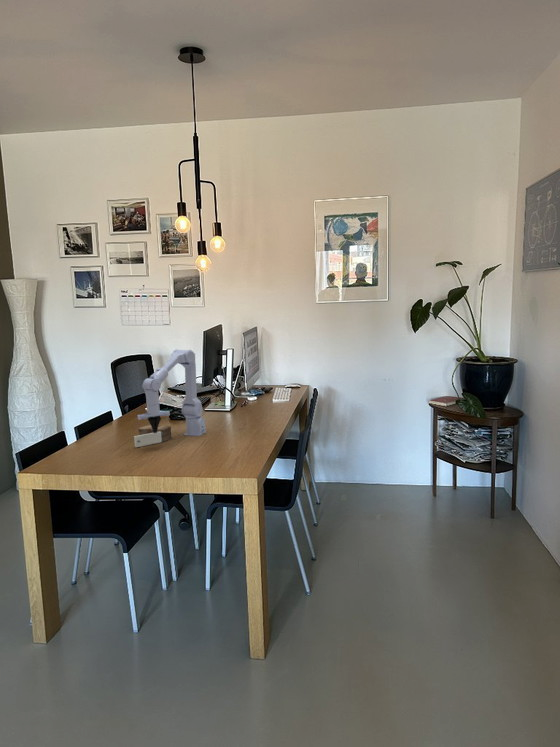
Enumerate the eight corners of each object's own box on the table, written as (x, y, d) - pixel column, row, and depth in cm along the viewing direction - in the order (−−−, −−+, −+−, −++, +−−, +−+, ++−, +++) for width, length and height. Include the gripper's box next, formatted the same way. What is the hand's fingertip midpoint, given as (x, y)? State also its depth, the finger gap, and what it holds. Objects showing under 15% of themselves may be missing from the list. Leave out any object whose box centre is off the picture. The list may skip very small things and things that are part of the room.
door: (162, 441, 255) (162, 431, 254) (164, 442, 253) (163, 431, 252) (134, 447, 247) (134, 436, 246) (136, 447, 246) (135, 437, 245)
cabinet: (172, 437, 261) (171, 426, 260) (164, 441, 255) (163, 429, 254) (147, 436, 266) (146, 424, 265) (139, 440, 260) (138, 428, 259)
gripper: (165, 400, 249) (167, 428, 251) (135, 404, 242) (137, 433, 244) (170, 402, 243) (172, 431, 245) (138, 407, 236) (141, 436, 238)
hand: (155, 432), depth 244 cm, fingers closed
